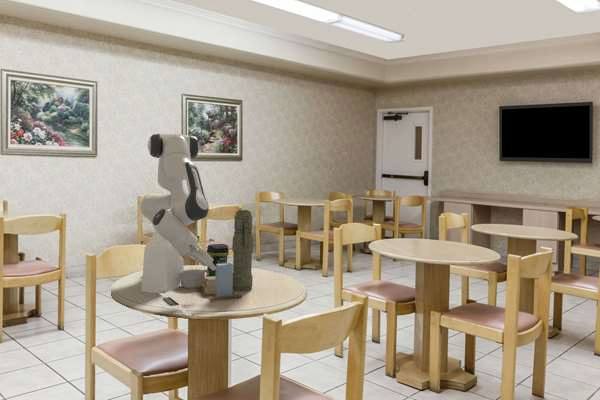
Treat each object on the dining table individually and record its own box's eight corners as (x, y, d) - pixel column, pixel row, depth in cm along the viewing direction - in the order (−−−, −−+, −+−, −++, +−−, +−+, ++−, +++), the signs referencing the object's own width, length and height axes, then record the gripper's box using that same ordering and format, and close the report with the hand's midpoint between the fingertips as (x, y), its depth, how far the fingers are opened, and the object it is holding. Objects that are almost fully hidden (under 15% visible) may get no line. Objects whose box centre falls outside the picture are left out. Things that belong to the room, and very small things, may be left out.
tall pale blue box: (215, 295, 214) (215, 264, 213) (228, 294, 217) (229, 263, 216) (218, 297, 211) (219, 265, 210) (232, 296, 214) (233, 264, 213)
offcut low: (202, 291, 220) (202, 284, 220) (225, 289, 225) (225, 282, 225) (207, 294, 216) (207, 287, 216) (229, 291, 221) (229, 284, 221)
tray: (195, 293, 220) (195, 288, 220) (224, 290, 227) (224, 285, 227) (211, 304, 205) (211, 298, 205) (241, 300, 212) (241, 295, 212)
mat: (163, 299, 210) (163, 297, 210) (187, 296, 216) (187, 295, 216) (170, 305, 202) (170, 303, 202) (195, 302, 207) (195, 301, 207)
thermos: (237, 295, 220) (238, 212, 217) (227, 289, 230) (229, 209, 228) (256, 293, 224) (258, 211, 222) (246, 287, 234) (248, 209, 232)
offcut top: (204, 284, 220) (204, 277, 220) (224, 282, 225) (224, 275, 224) (208, 286, 216) (208, 279, 216) (228, 284, 220) (228, 277, 220)
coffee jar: (211, 287, 232) (212, 245, 231) (203, 284, 238) (204, 243, 237) (230, 285, 238) (231, 244, 237) (222, 281, 244) (222, 242, 243)
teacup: (185, 293, 221) (186, 274, 221) (175, 287, 230) (175, 269, 230) (215, 289, 230) (216, 271, 229) (204, 284, 238) (205, 266, 238)
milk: (180, 288, 230) (181, 228, 228) (167, 294, 219) (167, 232, 217) (156, 285, 233) (156, 227, 232) (141, 291, 222) (142, 230, 220)
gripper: (201, 241, 196) (225, 265, 202) (183, 234, 213) (206, 256, 219) (189, 254, 194) (214, 278, 200) (172, 246, 211) (195, 268, 217)
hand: (210, 266), depth 210 cm, fingers open, 8 cm apart
